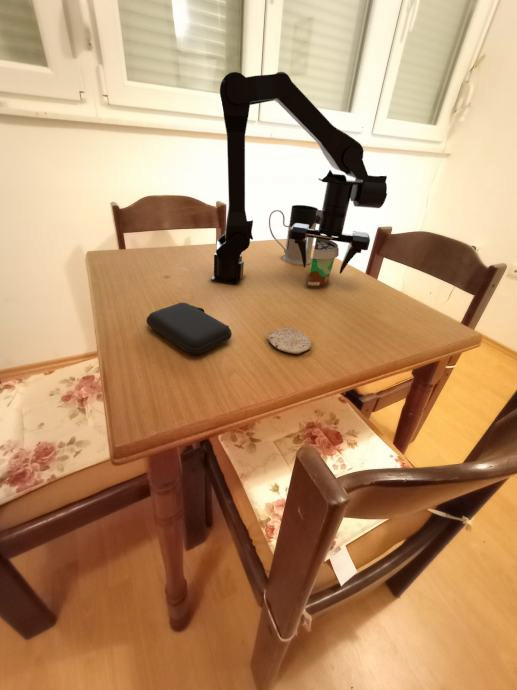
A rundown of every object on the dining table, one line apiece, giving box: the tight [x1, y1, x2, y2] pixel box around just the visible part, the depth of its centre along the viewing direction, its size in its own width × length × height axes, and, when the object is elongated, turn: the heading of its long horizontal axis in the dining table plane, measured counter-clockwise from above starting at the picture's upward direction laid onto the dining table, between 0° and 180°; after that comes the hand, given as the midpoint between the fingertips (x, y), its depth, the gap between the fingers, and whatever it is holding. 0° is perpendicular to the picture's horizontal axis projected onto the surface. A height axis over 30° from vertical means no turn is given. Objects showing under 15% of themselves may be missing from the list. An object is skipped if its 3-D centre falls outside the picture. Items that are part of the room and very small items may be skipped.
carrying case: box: [146, 302, 233, 356], centre depth 56 cm, size 11×3×15 cm
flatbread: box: [267, 327, 312, 355], centre depth 56 cm, size 8×8×1 cm
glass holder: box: [268, 204, 319, 266], centre depth 92 cm, size 9×14×15 cm, turn 89°
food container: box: [306, 238, 339, 289], centre depth 79 cm, size 12×6×10 cm, turn 168°
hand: (322, 270), depth 80 cm, fingers open, 9 cm apart
